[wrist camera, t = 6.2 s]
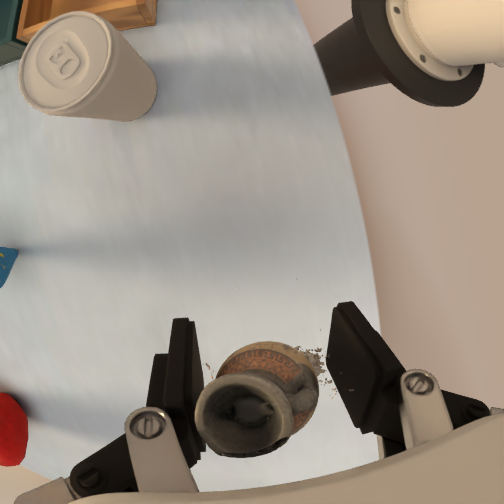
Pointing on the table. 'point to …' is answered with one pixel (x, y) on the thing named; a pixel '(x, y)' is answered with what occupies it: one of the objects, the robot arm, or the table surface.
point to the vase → (259, 399)
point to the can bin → (10, 31)
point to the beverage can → (85, 71)
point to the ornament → (6, 262)
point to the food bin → (100, 3)
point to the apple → (12, 431)
